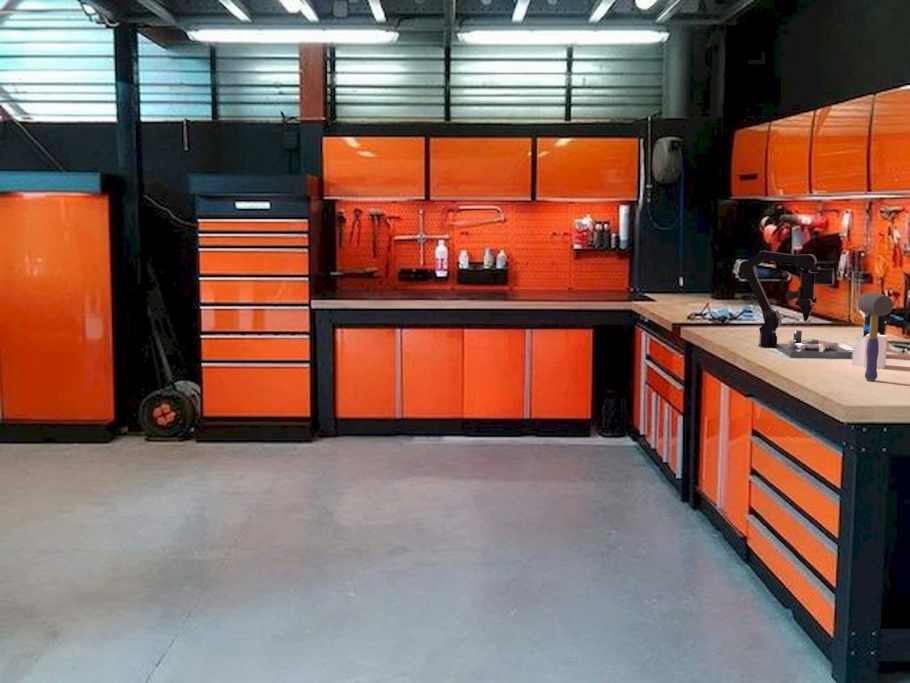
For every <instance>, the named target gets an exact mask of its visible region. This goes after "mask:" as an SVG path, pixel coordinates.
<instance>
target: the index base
mask: <svg viewBox="0 0 910 683" xmlns="http://www.w3.org/2000/svg"><path fill="white" fill-rule="evenodd" d="M776 349H777V350H776ZM775 350H776V351H778V350H779V351H778V352H779V353H781V352H782V353H781V354H784V355H786V356H787V357H789V358H797V359H798V358H799V359H800V358H801V359H803V358H804V359H805V358H806V359H808V358H809V359H810V358H811V359H813V358H814V359H852V358H853V351H850V350H847V349H845V348H843V347H841V346H838V349H837V350H835V349H828V350H823V344H819V348H818V350H812V349H805V350H804V349H800V348H795V347H788V343H777V344H776V347H775Z"/></svg>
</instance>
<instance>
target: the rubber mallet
mask: <svg viewBox="0 0 910 683" xmlns="http://www.w3.org/2000/svg"><path fill="white" fill-rule="evenodd" d="M857 306H858V309H859V310H860V311H862V312H863V313H865V314H871V318H870V331H869V339H868V343H867V351H866V354H867V366H866V367H865V373H864V377H865V380H866V381H868V382H874V381H876V380H877V379H878V370H877V369H878V368H877V358H878V353H879V343H878V338H877V333H878V316H885V317H886V316H888V315H889V314H890V313H891V312H892V311H893V310H894V301H893V300H892V299H891V297H889V296H888V295H885V294H882V293H877V292H876V293H875V292H865V293H863V294H861V295H860V297H859V298H858V301H857Z"/></svg>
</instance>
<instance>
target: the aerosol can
mask: <svg viewBox="0 0 910 683" xmlns="http://www.w3.org/2000/svg"><path fill="white" fill-rule="evenodd" d="M863 318H864V320H863V336H862V338H864V337H865V336H866V335H867V334H869V331H870V318H871V314H868V313H866V314H865V315H864V316H863ZM886 319H887V317H886V315H885V316H878V333H880V335H885V330H886V329H885V328H886Z"/></svg>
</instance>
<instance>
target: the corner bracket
mask: <svg viewBox="0 0 910 683" xmlns="http://www.w3.org/2000/svg"><path fill="white" fill-rule="evenodd" d="M877 338H878V343H879V353H878V358H877V369H881V370H883V369H885V368H886V363H887V362H886V361H887V347H888V346H887V345H888V335H887V334H884V335H880V333H877ZM868 339H869V334H867V335H866V336H865V337H864V338H863V337H862V338H861V339H860V340H859V341H858V342H855V344H854V345H852V346H853V347H852V358H851V360H852V362H851V364H852V366H861V367H863V368H866V366H867V354H866V351H867V343H868Z"/></svg>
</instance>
